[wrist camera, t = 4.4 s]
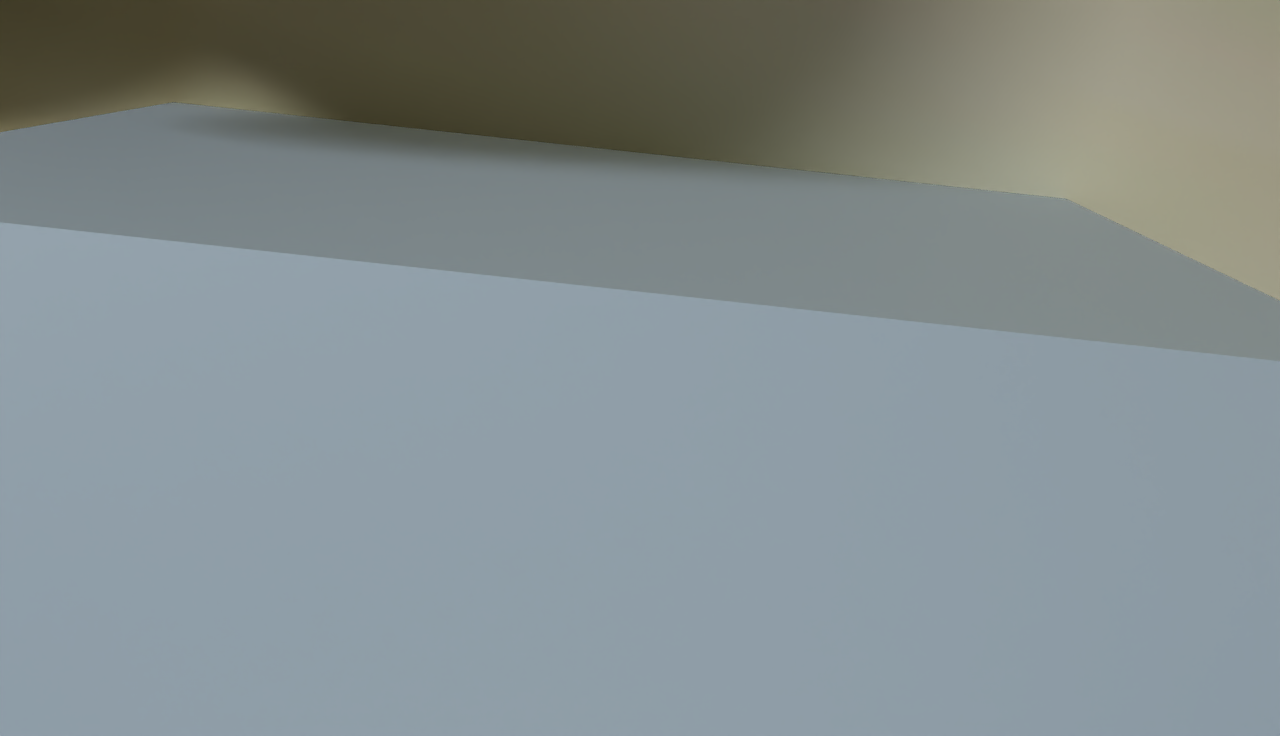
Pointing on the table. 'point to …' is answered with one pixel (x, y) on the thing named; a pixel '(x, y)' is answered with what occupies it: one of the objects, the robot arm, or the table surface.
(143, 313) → the light blue box
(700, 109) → the table surface
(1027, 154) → the table surface
